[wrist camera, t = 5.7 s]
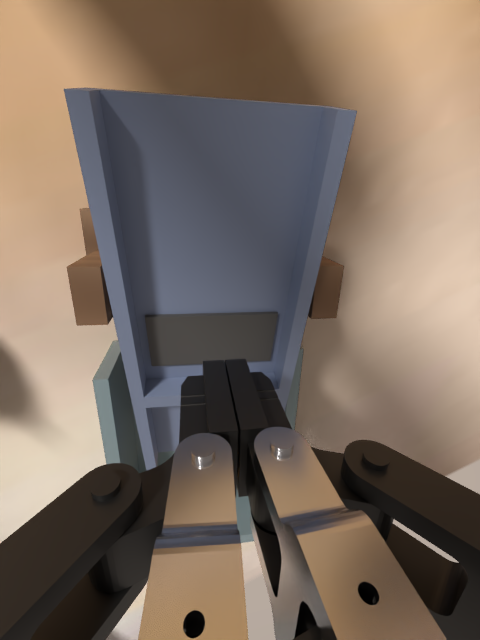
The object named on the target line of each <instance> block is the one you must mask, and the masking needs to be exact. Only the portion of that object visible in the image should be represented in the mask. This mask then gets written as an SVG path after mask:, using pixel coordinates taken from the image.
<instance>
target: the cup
mask: <svg viewBox="0 0 480 640" xmlns="http://www.w3.org/2000/svg"><path fill="white" fill-rule="evenodd" d="M302 358H303V348H302V347H301V346H300V350H299V354H298V358H297V363H296V367H295V371H294V375H293V379H292V383H291V388H290V392H289V396H288V400H287V404H286V408H285V414H286V416H287V418H288V421H289V423H290V425H291V427H292V430H294V429H295V420H296V412H297V403H298V394H299V385H300V376H301V367H302ZM93 386H94V392H95V398H96V404H97V410H98V416H99V422H100V428H101V434H102V440H103V446H104V452H105V458H106V464H111V463H124V464H128V465H130V466H132V467H134V468H135V469H136V470H137V471H138V473H142V472H144V471H147V470H146V466H145V461H144V456H143V452H142V447H141V443H140V438H139V433H138V429H137V424H136V420H135V415H134V410H133V406H132V401H131V397H130V392H129V387H128V383H127V378H126V373H125V369H124V364H123V360H122V355H121V350H120V346H119V341H113V342H112V344H111V346H110V348H109V350H108V352H107V354H106V356H105V357H104V359H103V361H102V363H101V365H100V367H99V369H98V371H97V373H96V374H95V376H94V378H93ZM174 453H175V451H168V452H158V461H157V466H159V465H161V464H163V463H164V462H166V461H167V460H168V459H169V458H170V457H171V456H172V455H173V454H174ZM235 501H236V515H237V528H238V530H239V532H240V539H241V543H243V542H251V541H254V538H253V534H252V530H251V527H250V503H249V498H248V496H244V497H239V496H238V490H237V489H236V498H235Z"/></svg>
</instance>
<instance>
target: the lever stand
mask: <svg viewBox="0 0 480 640" xmlns="http://www.w3.org/2000/svg"><path fill="white" fill-rule="evenodd" d="M80 215H81V222H82V228H83V235H84V242H85V248H86V255H87V256H85V257H83V258H81V259H80V260H78V261H76V262H75V263H73V264H71V265H69V266H68V267H67V271H68V277H69V283H70V289H71V294H72V300H73V306H74V312H75V317H76V323H77V325H108V324H109V322H110V320H111V319H112V317H113V314H112V309H111V304H110V300H109V295H108V290H107V286H106V281H105V277H104V272H103V267H102V263H101V258H100V254H99V249H98V244H97V240H96V235H95V231H94V226H93V221H92V217H91V212H90V208H84V209H80ZM343 269H344V266H343V265H340V264H338V263H336V262H334V261H332V260H329V259H327V258H325V257H323V256H322V259H321V263H320V267H319V271H318V275H317V279H316V284H315V288H314V292H313V296H312V300H311V304H310V309H309V313H308V316H309V317H310V318H311V319H319V318H336V317H337V310H338V303H339V296H340V290H341V283H342V276H343Z"/></svg>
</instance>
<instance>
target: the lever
mask: <svg viewBox="0 0 480 640" xmlns="http://www.w3.org/2000/svg"><path fill="white" fill-rule="evenodd" d="M64 92H65V97H66V101H67V106H68V111H69V115H70V120H71V124H72V129H73V134H74V138H75V143H76V148H77V152H78V157H79V161H80V166H81V171H82V175H83V180H84V184H85V189H86V194H87V198H88V203H89V207H90V212H91V217H92V221H93V226H94V231H95V235H96V240H97V244H98V249H99V254H100V258H101V263H102V267H103V272H104V277H105V281H106V286H107V290H108V295H109V300H110V304H111V309H112V314H113V318H114V323H115V327H116V332H117V337H118V341H119V346H120V350H121V355H122V360H123V364H124V369H125V373H126V378H127V383H128V387H129V392H130V397H131V401H132V406H133V410H134V415H135V420H136V424H137V429H138V433H139V438H140V443H141V447H142V452H143V456H144V461H145V466H146V470H150V469H152V468H155V467H157V461H158V452H168V451H175V450H176V448H177V446H178V444H179V430H180V402H181V385H182V383H183V382H184V381H185V379H186V378H187V376H199V375H203V361H210V360H224V361H225V360H228V359H246V361H247V364H248V367H249V370H250V372H262V373H263V374H265V375H266V376H267V377H268V378H269V379H271V382H272V384H273V386H274V388H275V391H276V393H277V395H278V399H279V400H280V402H281V405H282V407H283V409H284V411H285V408H286V404H287V400H288V396H289V392H290V388H291V383H292V379H293V375H294V371H295V367H296V363H297V358H298V354H299V350H300V346H301V342H302V338H303V334H304V329H305V325H306V321H307V317H308V313H309V309H310V304H311V300H312V296H313V292H314V288H315V284H316V279H317V275H318V271H319V267H320V263H321V259H322V255H323V250H324V246H325V242H326V238H327V234H328V230H329V225H330V221H331V217H332V213H333V209H334V205H335V200H336V196H337V192H338V188H339V184H340V180H341V176H342V171H343V167H344V163H345V159H346V155H347V151H348V146H349V142H350V138H351V134H352V130H353V126H354V121H355V117H356V113H357V111H355V110H349V109H343V108H337V107H332V106H320V105H307V104H294V103H281V102H268V101H255V100H241V99H228V98H215V97H202V96H189V95H176V94H162V93H149V92H136V91H123V90H110V89H97V88H71V89H64Z"/></svg>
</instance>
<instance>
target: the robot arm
mask: <svg viewBox="0 0 480 640" xmlns="http://www.w3.org/2000/svg"><path fill="white" fill-rule="evenodd" d="M236 489H237V490H238V496H239V497H244V496H248V498H249V503H250V527H251V530H252V534H253V538H254V542H255V546H256V549H257V553H258V557H259V561H260V565H261V568H262V572H263V576H264V580H265V583H266V587H267V591H268V594H269V599H270V603H271V607H272V613H273V620H274V631H275V638H276V640H480V495H479V494H478V493H476V492H474V491H472V490H470V489H468V488H466V487H464V486H462V485H460V484H458V483H456V482H455V481H453V480H451V479H449V478H447V477H445V476H443V475H441V474H439V473H437V472H435V471H433V470H431V469H429V468H428V467H426V466H424V465H422V464H420V463H418V462H416V461H414V460H412V459H410V458H408V457H406V456H404V455H402V454H401V453H399V452H397V451H395V450H393V449H391V448H389V447H387V446H385V445H383V444H381V443H378V442H374V441H370V440H358V441H354V442H352V443H350V444H349V445H348V446H347V447H346V449H345V452H344V454H341V453H335V452H329V451H323V450H319V449H316V448H313V447H311V446H310V445H309V443H308V442H307V440H306V439H305V438H304V437H303V436H302V435H301V434H300V433H298V432H296V431H295V430H292V427H291V425H290V423H289V421H288V418H287V416H286V414H285V411H284V409H283V407H282V405H281V402H280V400H279V399H278V395H277V393H276V391H275V388H274V386H273V384H272V382H271V379H269V378H268V377H267V376H266V375H265V374H263V373H262V372H250V370H249V367H248V364H247V361H246V359H228V360H225V361H224V360H210V361H203V375H199V376H187V378H186V379H185V381H184V382H183V383H182V385H181V402H180V430H179V444H178V446H177V448H176V450H175V453H174V454H173V455H172V456H171V457H170V458H169V459H168V460H167V461H166V462H164V463H163V464H161V465H159V466H157V467H155V468H152V469H150V470H147V471H144V472H142V473H138V471H137V470H136V469H135V468H134V467H132V466H130V465H128V464H124V463H111V464H106V465H103V466H100V467H98V468H95V469H94V470H92V471H90V472H89V473H87V474H86V475H85V476H83V477H82V478H81V479H80V480H78V481H77V482H76V483H75V484H73V485H72V486H71V487H70V488H68V489H67V490H66V491H65V492H64V493H62V494H61V495H60V496H59V497H57V498H56V499H55V500H54V501H52V502H51V503H50V504H49V505H47V506H46V507H45V508H44V509H42V510H41V511H40V512H39V513H38V514H36V515H35V516H34V517H33V518H31V519H30V520H29V521H28V522H26V523H25V524H24V525H23V526H21V527H20V528H19V529H18V530H16V531H15V532H14V533H13V534H12V535H10V536H9V537H8V538H7V539H5V540H4V541H3V542H2V543H0V640H106V638H107V637H108V636H109V634H110V633H111V632H112V630H113V629H114V627H115V626H116V625H117V623H118V622H119V621H120V619H121V618H122V616H123V615H124V614H125V612H126V611H127V610H128V608H129V607H130V606H131V604H132V603H133V601H134V600H135V599H136V597H137V596H138V595H139V593H140V592H141V591H142V589H143V588H144V586H145V585H146V583H147V581H148V584H147V590H146V596H145V602H144V608H143V614H142V620H141V626H140V632H139V638H138V640H248V629H247V616H246V603H245V590H244V577H243V564H242V551H241V539H240V532H239V530H238V528H237V515H236V501H235V498H236ZM393 519H395V520H397V521H398V522H400V523H401V524H403V525H404V526H406V527H407V528H409V529H411V530H412V531H414V532H415V533H417V534H418V535H420V536H421V537H423V538H424V539H426V540H428V541H429V542H431V543H432V544H434V545H435V546H437V547H438V548H440V549H441V550H443V551H444V552H446V553H447V554H449V555H450V556H452V557H453V558H455V559H456V560H457V561H458V562H459V563H455V562H452V561H449V560H447V559H446V558H444V557H442V556H441V555H439V554H438V553H436V552H435V551H433V550H432V549H430V548H428V547H427V546H426V545H424V544H423V543H421V542H420V541H418V540H416V539H415V538H414V537H412V536H411V535H409V534H408V533H406V532H405V531H403V530H401V529H400V528H399V527H397V526H396V525H394V524H393V523H392V522H393Z"/></svg>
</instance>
